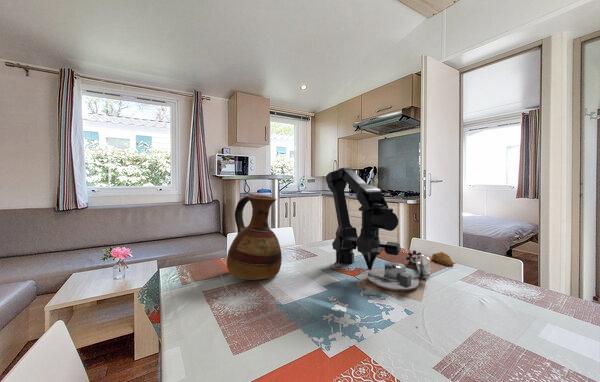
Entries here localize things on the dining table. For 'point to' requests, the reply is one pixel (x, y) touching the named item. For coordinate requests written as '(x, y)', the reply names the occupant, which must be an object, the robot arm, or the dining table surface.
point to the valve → (426, 269)
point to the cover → (394, 271)
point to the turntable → (405, 284)
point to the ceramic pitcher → (254, 242)
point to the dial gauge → (421, 266)
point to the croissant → (442, 259)
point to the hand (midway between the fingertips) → (370, 269)
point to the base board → (413, 294)
